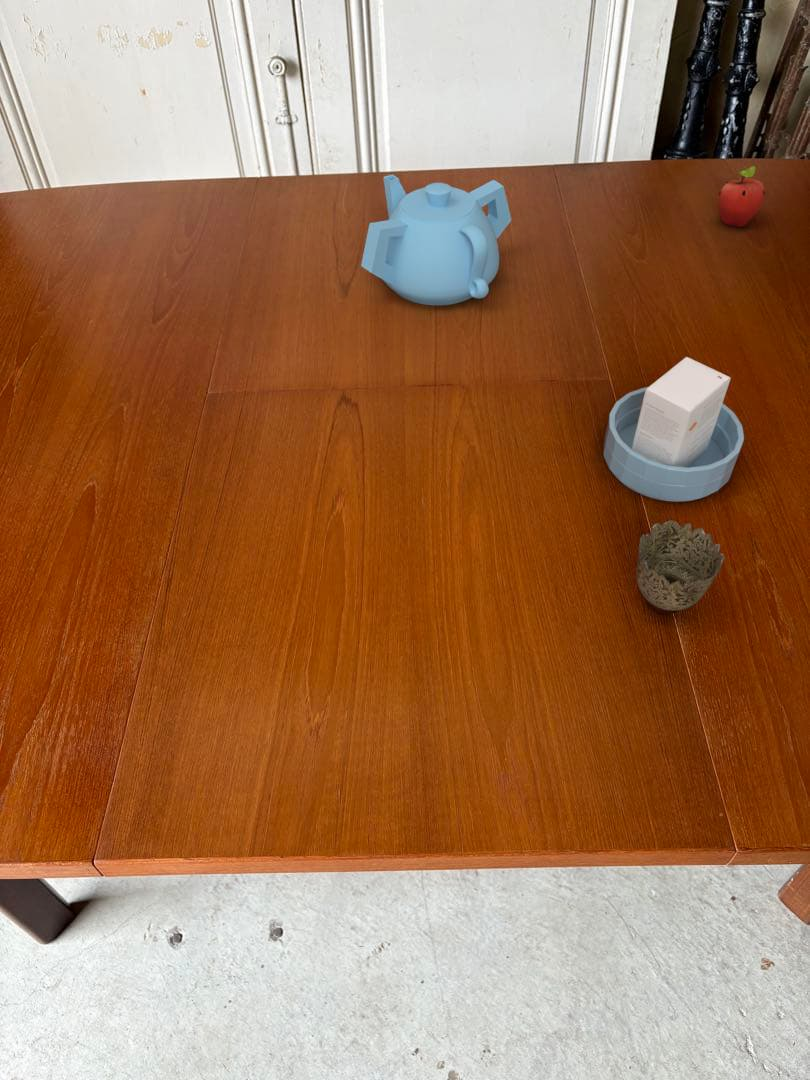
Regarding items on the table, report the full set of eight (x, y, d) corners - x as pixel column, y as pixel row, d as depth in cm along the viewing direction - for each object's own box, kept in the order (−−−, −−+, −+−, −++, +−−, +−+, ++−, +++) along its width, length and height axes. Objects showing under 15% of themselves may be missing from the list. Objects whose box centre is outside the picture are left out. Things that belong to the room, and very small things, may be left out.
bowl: (758, 477, 91) (772, 444, 88) (654, 520, 87) (664, 487, 84) (676, 405, 100) (685, 372, 96) (578, 441, 96) (584, 408, 92)
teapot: (509, 253, 125) (515, 162, 115) (489, 323, 113) (494, 228, 103) (389, 242, 129) (384, 153, 118) (356, 309, 116) (348, 216, 106)
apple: (705, 214, 132) (721, 151, 124) (746, 211, 132) (764, 148, 125) (722, 237, 127) (740, 173, 119) (765, 234, 127) (785, 170, 120)
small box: (666, 428, 96) (686, 354, 88) (708, 450, 94) (733, 376, 86) (626, 461, 93) (644, 387, 85) (668, 485, 90) (690, 411, 82)
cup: (670, 647, 77) (690, 595, 71) (609, 601, 80) (623, 548, 74) (717, 604, 80) (740, 551, 74) (655, 562, 84) (672, 508, 78)
